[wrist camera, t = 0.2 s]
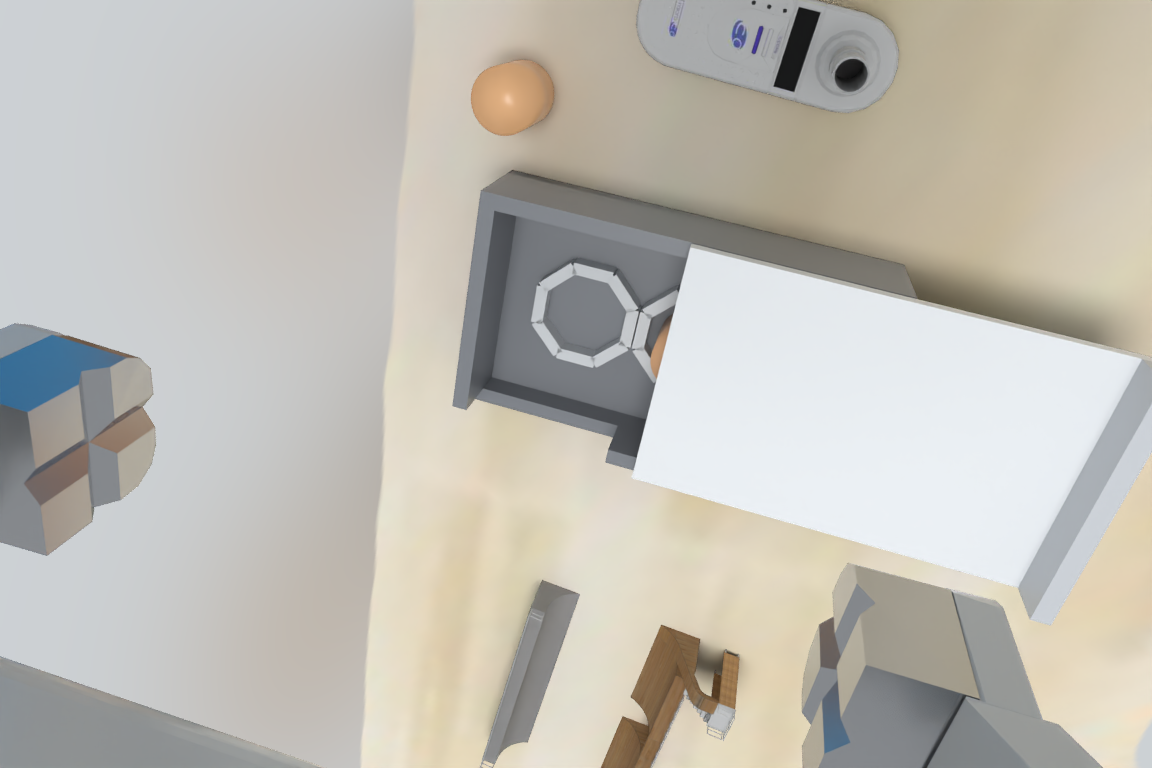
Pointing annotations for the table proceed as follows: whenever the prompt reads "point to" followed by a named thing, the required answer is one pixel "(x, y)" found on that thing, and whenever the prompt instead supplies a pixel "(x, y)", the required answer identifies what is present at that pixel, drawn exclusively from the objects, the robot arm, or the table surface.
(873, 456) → the lid
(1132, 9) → the table surface
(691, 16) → the electronic device
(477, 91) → the brown egg
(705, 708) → the skate ramp
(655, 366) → the egg seated
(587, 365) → the housing
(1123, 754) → the table surface
